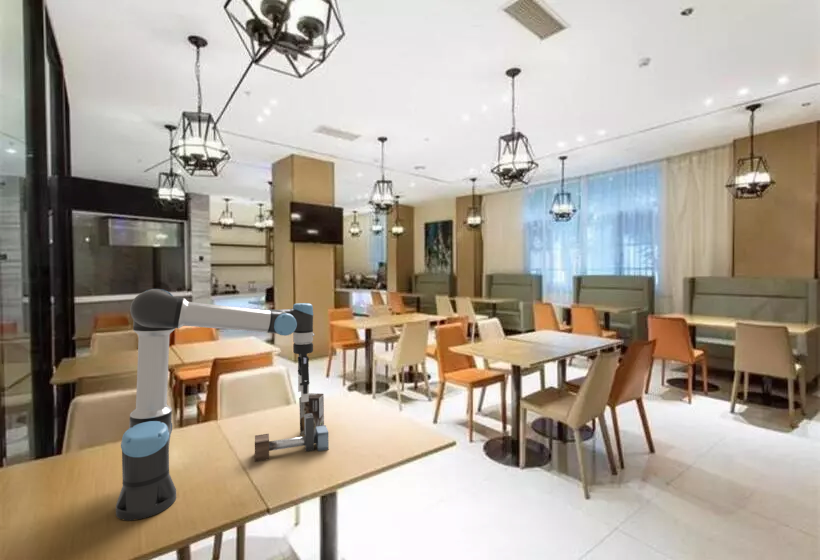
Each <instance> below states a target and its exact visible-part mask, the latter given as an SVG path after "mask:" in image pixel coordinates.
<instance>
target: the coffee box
mask: <svg viewBox="0 0 820 560" xmlns="http://www.w3.org/2000/svg"><path fill="white" fill-rule="evenodd" d="M324 397H325V395H324V393H310V392H309V402H301V396H300V397H299V398H298V399H299V400H298V403H299V434H300V435H305V426H304V414H309V413H312V414H313V417H314V435H315V434H316V427H318V426H324V425H325V414H324V412H325V410H324V409H325V408H324V407H325V405H324V401H325V398H324Z"/></svg>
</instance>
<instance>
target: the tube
mask: <svg viewBox="0 0 820 560" xmlns="http://www.w3.org/2000/svg"><path fill="white" fill-rule="evenodd" d="M304 426H305V434H304V435H303V436H295V437H290V438H283V439H276V440H271V441H270V440H269V452H270V451H277V450H283V449H289V448H296V447H297V448H298V447H302V446H304V449H305V452H312V451H315V445H316V443H318V435H317V434H315V435H314V417H313V414H312V413H309V414H304Z"/></svg>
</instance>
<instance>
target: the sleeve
mask: <svg viewBox="0 0 820 560" xmlns="http://www.w3.org/2000/svg"><path fill="white" fill-rule="evenodd" d="M269 441H270V434H269V433H264V434H258V435H254V462H262V461H268V460H270V451H269Z"/></svg>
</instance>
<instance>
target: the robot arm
mask: <svg viewBox="0 0 820 560" xmlns="http://www.w3.org/2000/svg"><path fill="white" fill-rule="evenodd" d="M129 311H130V315H131V318H132V319H133V321H132V322H133V324H132V327H133V329H132V330H133V332H134V333H136V334H137V336H138V344H137V348H138V349H137V370H136V372H137V373H136V397H135V409H133V410H132V411H131V412H130V413H129V426H128V427H129V428H128V429H127V430H126V431H125V432H124V433H123V435H122V438H121V443H120V448H121V463H122V465H121V469H122V470H121V471H122V487H121V488H120V489H121V490H120V493H119V496H118V499H117V501H116V504H115V516H116V518H118V519H119V518H120V519H119V520H121V519H124V520H123V521H135V520H134V519H139V520H143V519H146V517H147V518H149V516H150V517H153V516H156V515H157V514H159V513H162V512H164V511H165V510H166V509H168V508H170V507H171V506H172V505H173V504H174V503H175V501H176V500H177V488H176V486H175V483H174V481H173V479H172V477H171V474H170V456H169V455H170V440H171V434H172V432H173V423H172V416H173V415H172V414H173V413H172V412H173V411H172V410H173V408H172V407H171V406H170V405H168V386H169V385H168V382H169V381H168V379H169V359H170V358H169V357H170V355H169V354H170V334H171V333H173V331H175V330H176V329H181V328H182V327H195V328H196V327H197V328H209V329H210V328H212V329H218V330H219V329H221V330H231V331H232V330H234V331H243V332H245V331H247V332H253V333H254V332H256V333H257V332H258V333H269V334H275V335H276V334H277V335H279V336H284V337H285V336H290V335H292V342H293V347H292V349H293V353H294V354H296V355H298V356H297V365H298V366H297V374H298V375H297V378H298V379H297V386H298V387H297V389H298V391H297V392H299V393H300V397H301V402H309V393H310V392H309V391H310V386H309V385H310V373H309V372H310V371H309V367H310V366H309V365H310V364H309V362H310V358H309V356H308V354H312V353H313V352H314V343H313V341H314V337H315V333H314V308H313V304H311V303H308V302H302V303H301V302H298V303H294V304H293V305H292V308H288V309H285V308H283V309H271V308H270V309H266V310H264V309H263V310H262V309H253V308H247V307H246V308H245V307H238V306H229V305H228V306H227V305H222V304H221V305H220V304H210V303H203V302H196V301H195V302H194V301H189V300H187V299H186V298H185V297H180V296H179V297H178V296H174V295H173V294H172V293H171V292H169V291H167V290H165V289H161V288H151V289H147V290H145V291H142V292H141V293H139V294H137V296H135V298H133V300H132V302H131V303H130V308H129ZM152 515H153V516H152ZM142 518H143V519H142Z"/></svg>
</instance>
